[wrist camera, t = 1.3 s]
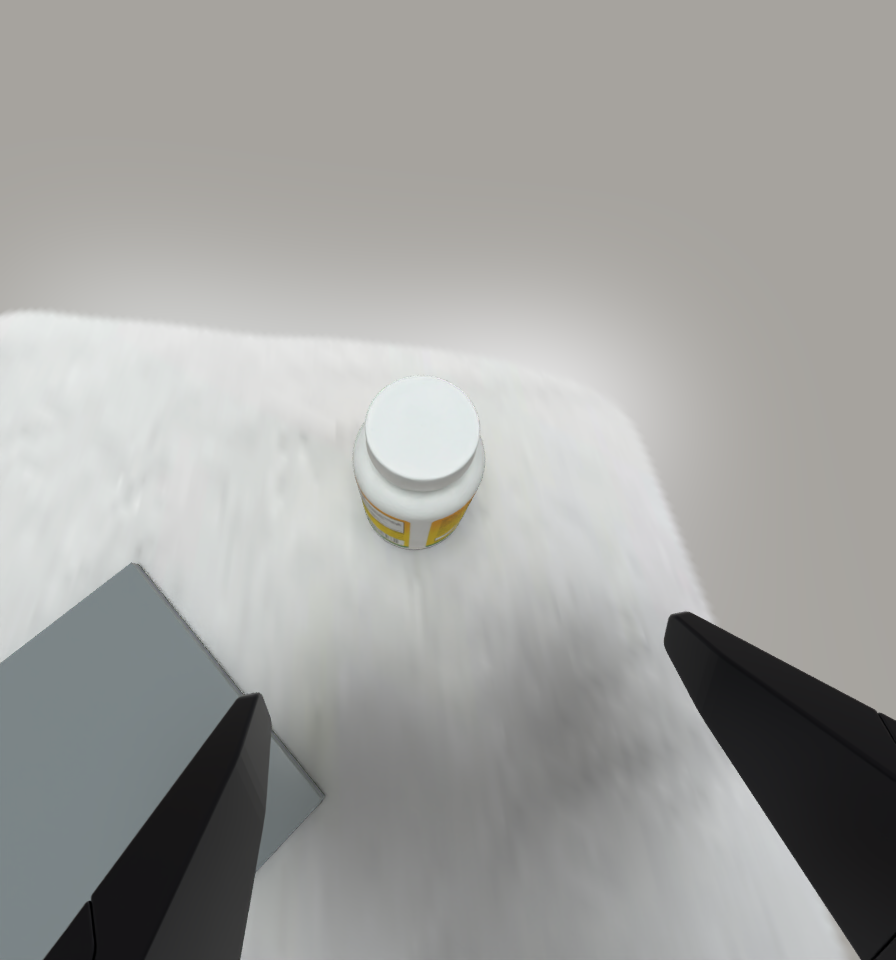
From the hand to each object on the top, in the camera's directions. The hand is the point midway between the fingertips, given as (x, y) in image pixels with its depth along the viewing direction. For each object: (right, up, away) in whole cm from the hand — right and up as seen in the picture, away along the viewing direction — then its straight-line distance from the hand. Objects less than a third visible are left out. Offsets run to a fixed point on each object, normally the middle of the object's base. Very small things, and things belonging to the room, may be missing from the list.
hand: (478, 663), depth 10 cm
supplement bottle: (-2, +3, +15) cm, 15 cm away
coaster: (-16, -10, +9) cm, 21 cm away
